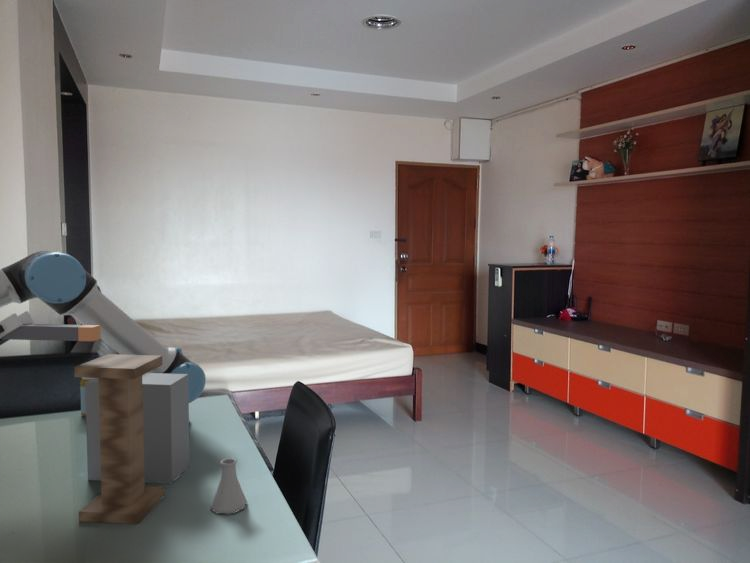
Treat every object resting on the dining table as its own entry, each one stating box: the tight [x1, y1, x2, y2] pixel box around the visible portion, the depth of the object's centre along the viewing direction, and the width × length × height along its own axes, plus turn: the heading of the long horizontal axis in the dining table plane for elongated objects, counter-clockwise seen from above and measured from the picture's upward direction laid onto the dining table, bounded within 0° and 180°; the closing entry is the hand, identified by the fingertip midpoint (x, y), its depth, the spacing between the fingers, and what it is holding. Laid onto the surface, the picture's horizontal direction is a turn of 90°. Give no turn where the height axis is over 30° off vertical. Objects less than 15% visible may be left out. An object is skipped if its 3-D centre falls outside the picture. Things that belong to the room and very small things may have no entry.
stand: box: [73, 353, 166, 525], centre depth 114 cm, size 12×12×31 cm
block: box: [85, 373, 190, 484], centre depth 132 cm, size 20×10×23 cm, turn 86°
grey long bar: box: [0, 323, 102, 342], centre depth 113 cm, size 24×3×3 cm, turn 87°
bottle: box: [79, 377, 94, 418], centre depth 175 cm, size 7×7×15 cm
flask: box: [210, 457, 248, 514], centre depth 116 cm, size 7×7×10 cm
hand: (23, 318), depth 113 cm, fingers closed on grey long bar, 3 cm apart
